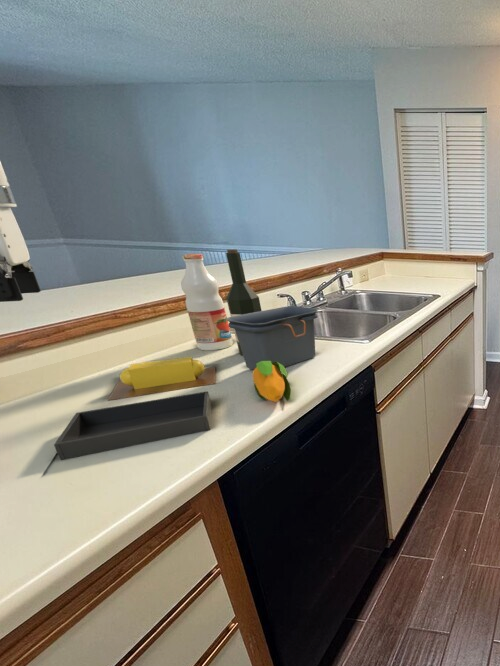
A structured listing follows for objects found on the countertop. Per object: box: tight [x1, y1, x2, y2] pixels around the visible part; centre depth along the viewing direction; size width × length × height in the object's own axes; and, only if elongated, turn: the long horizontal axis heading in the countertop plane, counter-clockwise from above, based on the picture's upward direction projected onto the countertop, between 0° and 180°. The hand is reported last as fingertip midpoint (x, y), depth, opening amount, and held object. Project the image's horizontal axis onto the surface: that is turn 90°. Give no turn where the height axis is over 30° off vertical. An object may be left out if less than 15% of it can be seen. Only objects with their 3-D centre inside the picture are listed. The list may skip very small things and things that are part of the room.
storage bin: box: [226, 305, 319, 371], centre depth 117 cm, size 21×16×14 cm
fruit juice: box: [180, 253, 234, 351], centre depth 128 cm, size 9×9×28 cm
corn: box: [252, 361, 292, 403], centre depth 98 cm, size 7×8×20 cm
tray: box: [53, 390, 212, 461], centre depth 82 cm, size 21×14×4 cm
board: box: [107, 366, 216, 402], centre depth 105 cm, size 20×14×1 cm
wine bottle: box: [225, 248, 263, 357], centre depth 123 cm, size 8×8×30 cm
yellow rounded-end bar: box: [119, 356, 206, 389], centre depth 104 cm, size 16×4×5 cm, turn 123°
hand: (20, 296), depth 79 cm, fingers open, 9 cm apart
